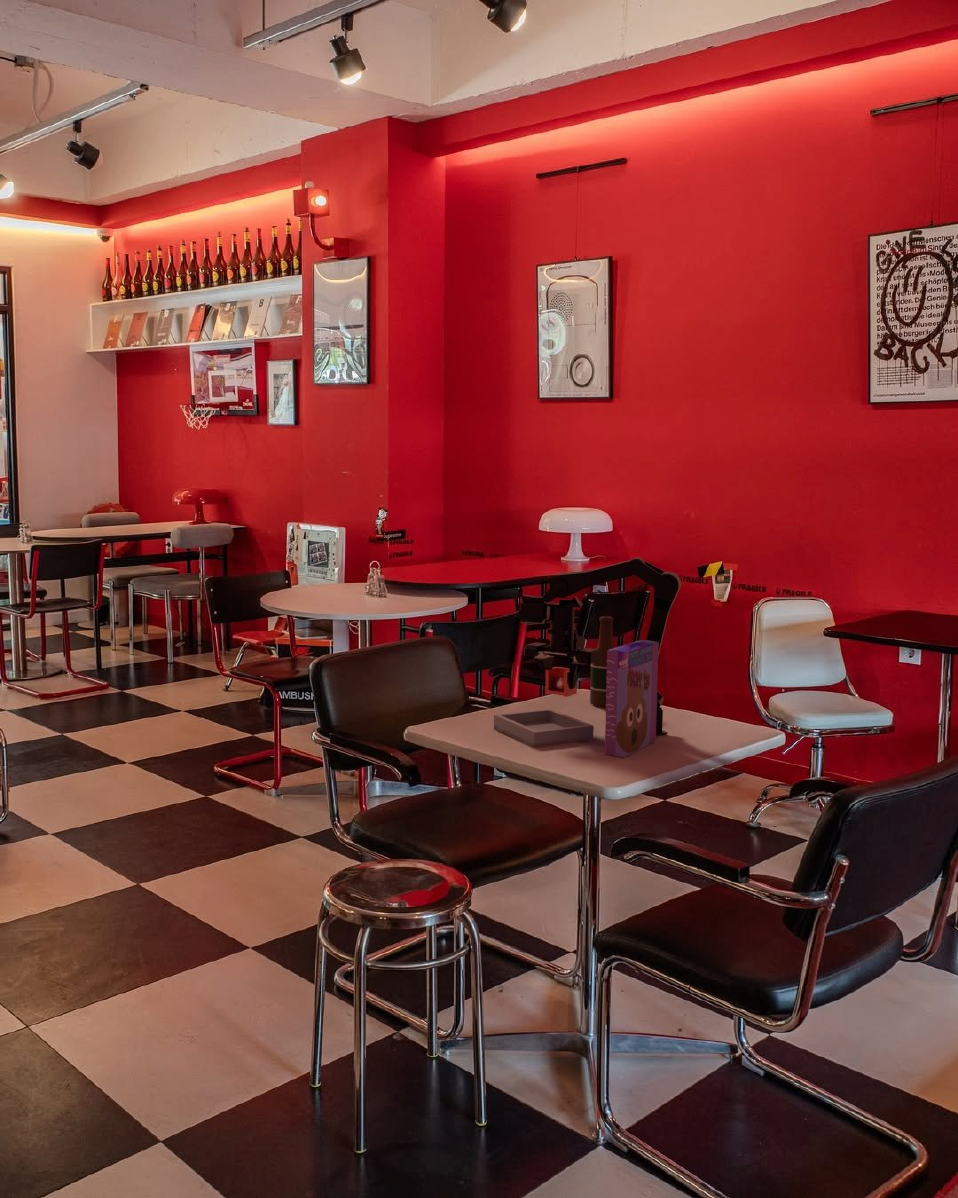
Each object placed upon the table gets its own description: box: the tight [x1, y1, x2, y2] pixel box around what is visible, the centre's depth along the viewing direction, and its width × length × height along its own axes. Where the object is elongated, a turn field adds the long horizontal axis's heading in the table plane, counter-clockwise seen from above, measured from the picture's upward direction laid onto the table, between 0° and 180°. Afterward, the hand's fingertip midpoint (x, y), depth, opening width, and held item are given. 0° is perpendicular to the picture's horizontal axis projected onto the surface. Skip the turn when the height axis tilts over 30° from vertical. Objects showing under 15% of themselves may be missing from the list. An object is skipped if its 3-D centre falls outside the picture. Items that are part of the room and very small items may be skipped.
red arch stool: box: [545, 666, 578, 698], centre depth 276 cm, size 6×5×6 cm
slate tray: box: [493, 708, 595, 748], centre depth 270 cm, size 20×16×4 cm
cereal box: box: [604, 639, 659, 759], centre depth 256 cm, size 17×5×24 cm, turn 148°
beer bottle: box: [589, 615, 615, 709], centre depth 303 cm, size 8×8×24 cm
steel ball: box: [555, 678, 564, 690], centre depth 277 cm, size 3×3×3 cm
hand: (561, 687), depth 276 cm, fingers closed on red arch stool, 6 cm apart
